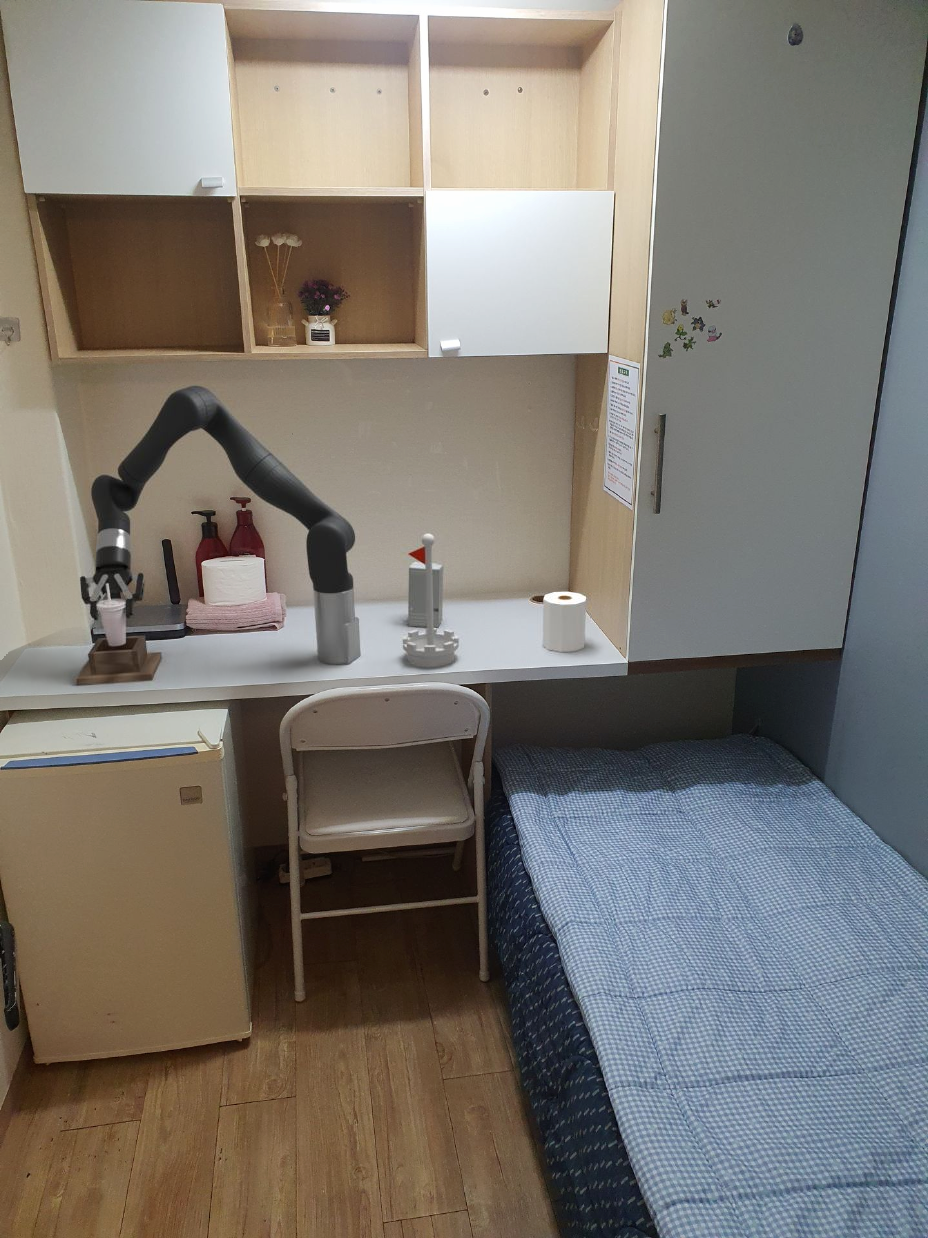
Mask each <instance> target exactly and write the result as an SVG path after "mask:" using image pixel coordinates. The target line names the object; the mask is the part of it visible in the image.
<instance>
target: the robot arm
mask: <svg viewBox="0 0 928 1238" xmlns="http://www.w3.org/2000/svg"><path fill="white" fill-rule="evenodd" d="M200 429H202V430H204V432H206V433H207V434H208V435H210V437H212V438H213V439H214V440H215V441H216V442H217V443H218V444H219V445H220V447H221V448H222V449H223V451H224V452H225V454H226V456H227V458H228V460H229V462H230V465H231V467H232V469H233V471H234V473H235V475H236V476H237V478H238V479H239V480H240V481H241V482H242V483H243V484H244V485H245V486H247V488H248V489H250V491H252V492H253V493H254V494H255V495H256V496H257V497H259V499H261V500H262V501H264V502H265V503H267V504H269V505H271V506H273V507H274V508H277V509H279V510H281V511H283V512H285V513H287V514H288V515H290V516H292V518H293V517H294V518H295V519H296V520H298V521H299V522H300V524H302V525H303V526H304V527H305V528H306V529H307V530H308V533H307V535H306V547H305V548H306V557H307V565H308V566H307V568H308V574H309V578H310V580H311V583H312V588H313V604H314V605H313V606H314V608H313V609H314V620H315V623H314V624H315V633H316V636H315V637H316V648H317V651H316V652H317V659H318V661H319V662H321V663H323V664H329V665H341V664H348V665H349V664H351V663H352V662H353V661H355V660H356V659H357V658H359V657H360V656H361V655H362V654H361V653H362V652H361V637H360V636H361V635H360V618H359V617H357V616H356V609H355V607H356V606H355V588H354V585H355V584H354V577H353V575H352V574H351V573H350V572H349V568H348V559H347V558H348V557H347V553H348V552H349V551H351V549H352V548H353V547H354V545H355V543H356V532H355V530H354V528H353V526H352V524H351V523H350V522H349V521H348V520H347V519H346V518H345V517H344V516H343V515H341V514H340V513H338V512H337V511H335V510H334V508H331V507H330V506H329V505H327V504H326V503H325V502H323V500H321V499H320V498H319V497H317V495H315V493H314V492H312V490H310V489H309V488H308V487H307V486H306V485H305V484H304V483H303V482H302V481H301V480H300V479H299V478H298V477H297V476H296V475H295V474H294V473H293V472H292V471H291V470H290V469H289V468H287V466H285V464H284V463H283V462H281V461H280V460H279V458H277V456H275V455H274V454H273V453H272V452H271V451H270V450H269V449H267V448H266V447H265V446H264V445H263V444H262V443H261V442H260V441H259V440H258V439H257V438H256V437H254V435H253V434H252V433H250V432H249V431H248V430H247V428H245V427H244V426H243V425H242V423H240V422H239V421H238V420H237V419H236V418H235V417H234V415H233V414H232V413H231V412H230V411H229V410H228V408H227V407H226V406H225V405H224V404H223V403H222V402H221V400H220V399H219V398H218V397H217V396H216V395H215V394H214V393H213V392H212V391H211V390H210V389H208V388H206V387H203V386H201V385H190V386H188V387H184V388H180V389H178V390H176V391H174V392H172V393H171V394H170V395H169V396H168V397H167V399H166V400H165V402H164V403H163V405H162V407H161V408H160V411H159V412H158V414H157V416H156V418H155V419H154V421H153V423H151V426H150V427H149V429H148V430H147V432H146V433H145V435H144V436H143V437H142V438H141V440H140V441H139V442H138V443H137V444H136V445H135V446H134V448H133V449H132V450H130V452H129V453H128V454H127V455H126V457H124V459H123V460H122V461H121V463H120V464H119V465H118V467H117V474H118V476H119V478H120V479H119V478H116V477H114V476H112V475H108V474H102V475H101V474H100V475H99V476H97V477H96V478H95V479H94V481H93V482H92V483H91V489H90V490H91V491H90V494H91V500H92V504H93V505H92V506H93V508H94V511H95V515H96V519H97V521H98V522H97V523H98V524H97V538H96V543H95V544H96V545H95V548H96V549H95V570H94V571H95V572H94V574H93V576H91V577H85V576H84V575H83V576H81V577H79V583H80V595H81V599H82V601H83V603H84V604H85V605H89V615H90V617H91V618H92V619H93V620H94V621H99V610H97V606H96V604H97V603H98V602H100V601H102V600H104V597H105V596H106V595H107V589H106V584H107V583H108V584H109V591H110V595H111V594H123V596H124V597H125V598H126V599H125V601H126V607H125V610H126V618H127V619H131V617H132V616H134V614H135V613H134V611H135V609H134V608H135V607H134V606H135V603H136V602H137V601H138V602H141V601H143V599H144V592H145V584H146V579H145V575H144V573H143V572H139V573H138V574H132V569H131V568H132V567H131V566H132V565H131V564H132V552H133V551H132V541H131V519H130V517H129V515H128V514H127V513H126V512H129V511H131V510H134V508H135V507H136V506H137V504H138V501H139V499H140V496H141V494H142V492H143V490H144V488H145V486H146V484H147V482H148V481H149V480H150V479H151V478H152V477H153V476H154V475H155V474H156V473H157V471H158V470H159V469H160V468H161V466H163V465H162V464H164V462H165V459H166V457H167V455H168V453H169V451H170V450H171V448H172V447H173V446H174V445H175V444H176V443H177V442H178V441H179V440H181V439H182V438H183V437H184V436H186V435H187V434H189V433H190V432H194V431H197V430H200ZM133 581H134V584H135V592H134V593H131V591H130V590H129V588H128V587H129V585H130V584H131V583H132V582H133ZM93 583H94V584H95V588H94V590H93V593H92V594H91V596H90V588H91V587H92V584H93Z"/></svg>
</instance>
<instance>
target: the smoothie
mask: <svg viewBox="0 0 928 1238" xmlns="http://www.w3.org/2000/svg"><path fill="white" fill-rule="evenodd" d="M106 589H107V594H106V595H107V599H102V600H100V602H98V603H97V604H96V606H97V610H99V612H98V615H99V616H100V620H101V624H102V627H103V630H104V633H105V638H107V641H108V644H109V645H110V646H120V645H123V644H125V643H126V637H127V633H126V631H127V630H126V625H127V624H126V623H127V621H126V620H127V619H126V618H127V617H126V599H123V598H111V594H110V591H109V584H108V583H107V584H106Z"/></svg>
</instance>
